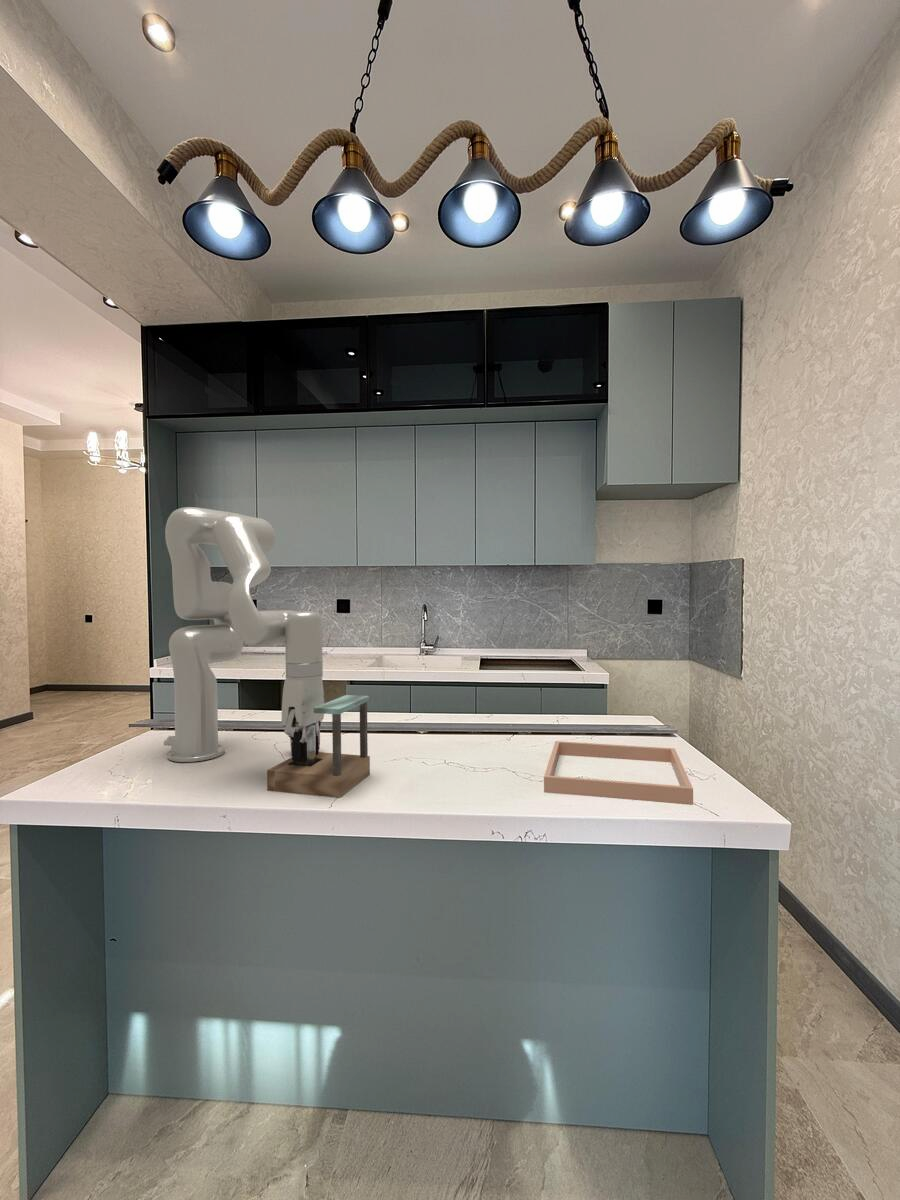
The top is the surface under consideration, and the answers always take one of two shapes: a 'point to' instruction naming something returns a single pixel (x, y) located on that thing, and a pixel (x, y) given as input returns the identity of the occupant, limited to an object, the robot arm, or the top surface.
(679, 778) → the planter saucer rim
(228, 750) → the top surface
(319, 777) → the socket station
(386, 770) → the top surface
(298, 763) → the peg
